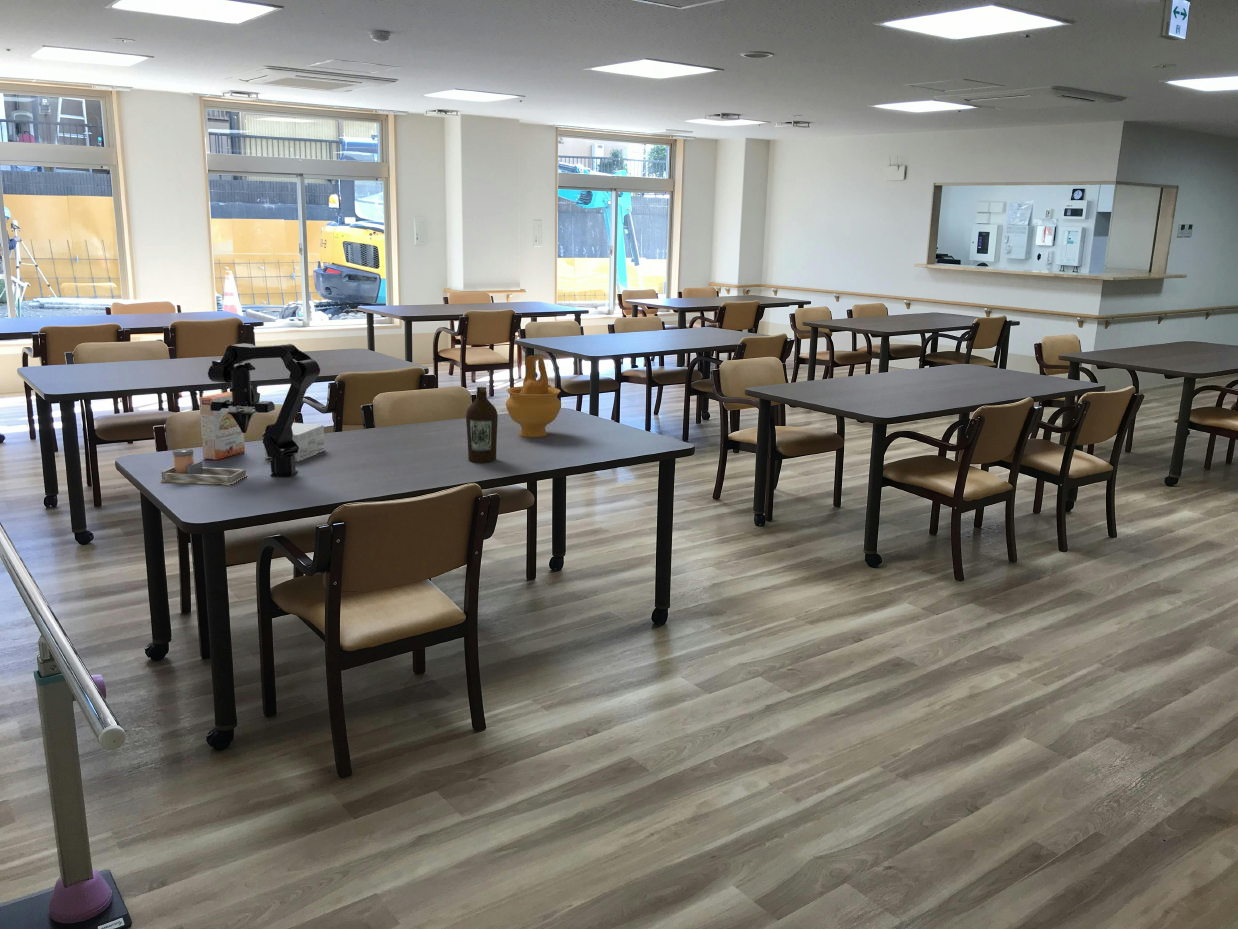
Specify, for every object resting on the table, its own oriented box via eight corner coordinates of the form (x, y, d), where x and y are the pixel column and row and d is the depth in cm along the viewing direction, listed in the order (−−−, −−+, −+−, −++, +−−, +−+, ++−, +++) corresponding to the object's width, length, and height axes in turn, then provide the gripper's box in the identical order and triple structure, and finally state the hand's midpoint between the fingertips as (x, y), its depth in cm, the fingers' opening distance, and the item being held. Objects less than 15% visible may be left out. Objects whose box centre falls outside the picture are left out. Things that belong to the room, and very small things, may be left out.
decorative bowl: (494, 434, 374) (493, 356, 367) (529, 426, 391) (530, 351, 383) (537, 442, 362) (537, 361, 355) (572, 433, 379) (572, 356, 372)
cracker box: (217, 461, 324) (212, 398, 319) (202, 459, 326) (197, 397, 321) (246, 452, 337) (242, 392, 332) (232, 450, 339) (228, 390, 334)
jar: (199, 474, 305) (196, 449, 303) (189, 478, 299) (186, 453, 297) (181, 473, 305) (179, 448, 303) (171, 477, 300) (168, 452, 298)
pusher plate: (203, 473, 305) (202, 460, 304) (191, 478, 298) (190, 466, 298) (199, 473, 305) (198, 460, 304) (187, 478, 299) (186, 465, 298)
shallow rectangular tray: (247, 476, 306) (246, 466, 305) (230, 485, 295) (229, 475, 295) (180, 472, 308) (179, 463, 307) (160, 481, 298) (159, 472, 297)
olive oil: (468, 456, 339) (467, 384, 333) (499, 456, 339) (498, 384, 333) (464, 463, 328) (463, 389, 322) (496, 463, 329) (496, 390, 323)
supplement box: (291, 448, 345) (290, 422, 343) (325, 451, 342) (324, 424, 340) (263, 458, 329) (262, 431, 327) (299, 461, 326) (297, 434, 324)
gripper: (280, 381, 315) (283, 428, 318) (224, 379, 316) (228, 426, 320) (265, 386, 304) (268, 435, 308) (207, 384, 305) (211, 433, 309)
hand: (244, 432), depth 311 cm, fingers closed
